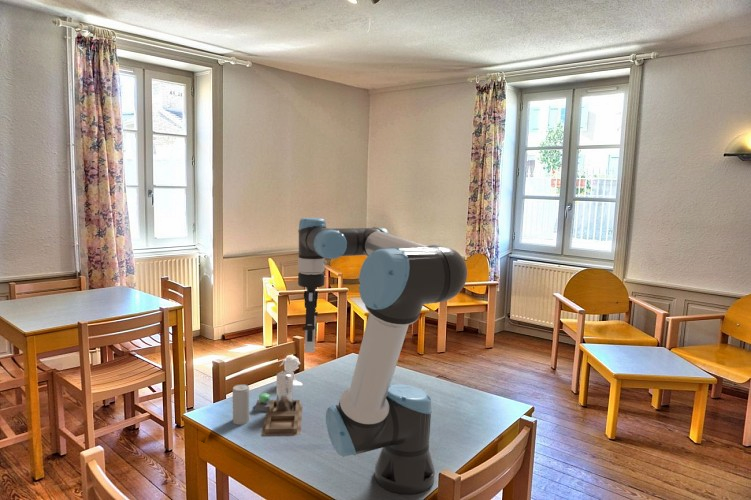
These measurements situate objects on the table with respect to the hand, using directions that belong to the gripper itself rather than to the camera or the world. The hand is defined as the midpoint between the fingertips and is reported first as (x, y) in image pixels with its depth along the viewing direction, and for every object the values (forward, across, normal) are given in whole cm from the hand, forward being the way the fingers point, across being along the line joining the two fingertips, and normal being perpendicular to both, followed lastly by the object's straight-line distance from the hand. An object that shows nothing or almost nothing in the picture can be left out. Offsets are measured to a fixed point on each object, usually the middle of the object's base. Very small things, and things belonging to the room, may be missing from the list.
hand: (310, 344), depth 148 cm
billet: (+25, +10, +8) cm, 28 cm away
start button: (+22, +12, +14) cm, 29 cm away
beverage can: (+27, +4, +20) cm, 34 cm away
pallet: (+26, +5, +10) cm, 29 cm away
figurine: (+27, +31, +8) cm, 41 cm away
